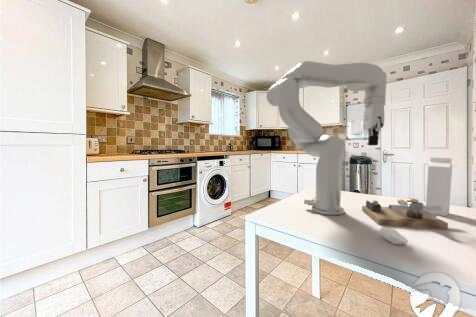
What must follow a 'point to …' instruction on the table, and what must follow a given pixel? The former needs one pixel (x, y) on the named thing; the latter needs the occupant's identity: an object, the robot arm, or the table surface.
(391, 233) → the dumpling
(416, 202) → the capstan
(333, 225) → the table surface
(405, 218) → the stand
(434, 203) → the milk
